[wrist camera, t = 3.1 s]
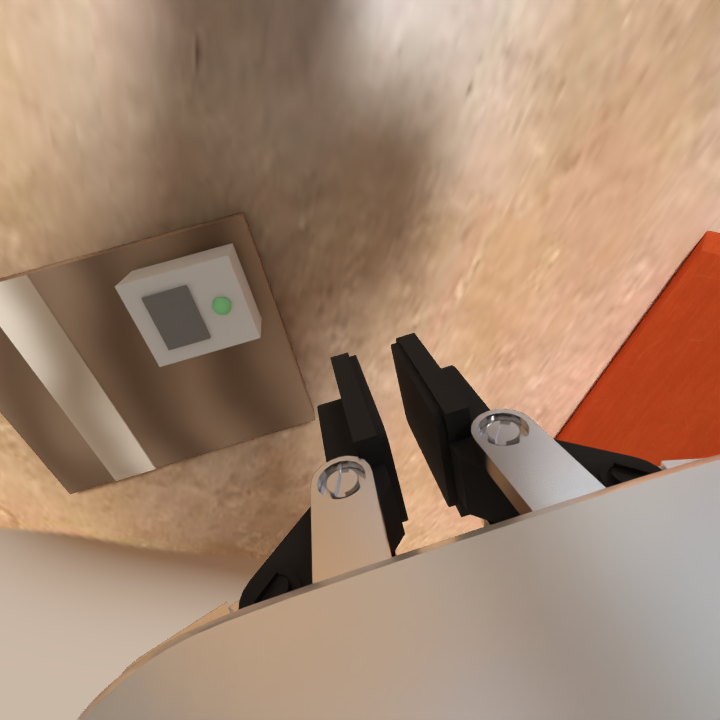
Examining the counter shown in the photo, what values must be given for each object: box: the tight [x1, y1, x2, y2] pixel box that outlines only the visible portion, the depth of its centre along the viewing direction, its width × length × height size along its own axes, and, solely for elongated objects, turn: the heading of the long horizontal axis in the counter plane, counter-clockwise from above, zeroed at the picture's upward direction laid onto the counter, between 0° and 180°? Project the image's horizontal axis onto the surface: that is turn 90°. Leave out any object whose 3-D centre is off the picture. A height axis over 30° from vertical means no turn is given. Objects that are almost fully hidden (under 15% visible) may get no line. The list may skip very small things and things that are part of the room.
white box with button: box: [115, 243, 262, 367], centre depth 24 cm, size 6×5×3 cm
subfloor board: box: [0, 212, 315, 494], centre depth 28 cm, size 19×16×2 cm
